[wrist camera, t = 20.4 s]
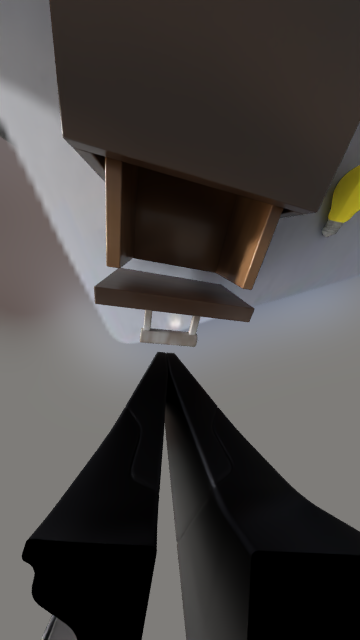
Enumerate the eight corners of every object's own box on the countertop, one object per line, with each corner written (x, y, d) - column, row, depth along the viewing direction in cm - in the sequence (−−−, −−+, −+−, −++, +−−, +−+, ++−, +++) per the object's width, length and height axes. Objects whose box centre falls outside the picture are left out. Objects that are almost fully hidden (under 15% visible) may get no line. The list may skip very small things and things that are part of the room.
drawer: (208, 326, 21) (231, 365, 15) (118, 316, 19) (97, 357, 12) (259, 156, 14) (350, 82, 7) (122, 108, 12) (76, -58, 5)
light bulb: (362, 164, 16) (410, 165, 13) (319, 231, 20) (350, 241, 17) (344, 158, 14) (393, 158, 12) (302, 231, 18) (333, 241, 16)
